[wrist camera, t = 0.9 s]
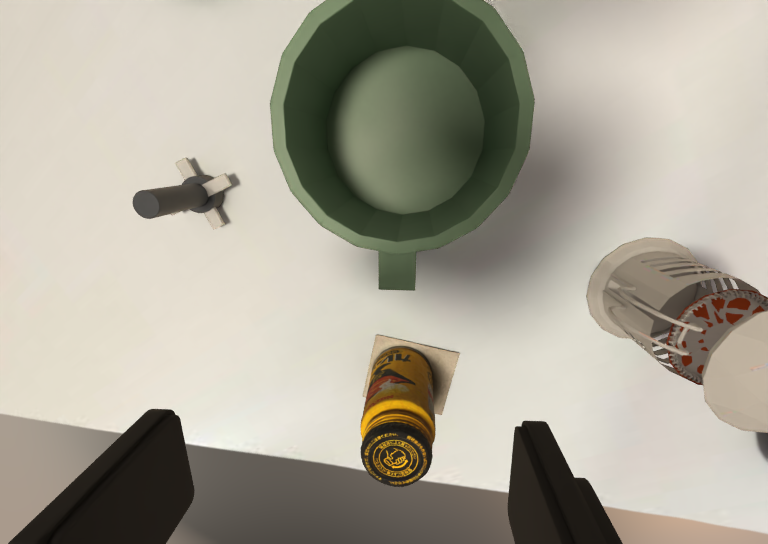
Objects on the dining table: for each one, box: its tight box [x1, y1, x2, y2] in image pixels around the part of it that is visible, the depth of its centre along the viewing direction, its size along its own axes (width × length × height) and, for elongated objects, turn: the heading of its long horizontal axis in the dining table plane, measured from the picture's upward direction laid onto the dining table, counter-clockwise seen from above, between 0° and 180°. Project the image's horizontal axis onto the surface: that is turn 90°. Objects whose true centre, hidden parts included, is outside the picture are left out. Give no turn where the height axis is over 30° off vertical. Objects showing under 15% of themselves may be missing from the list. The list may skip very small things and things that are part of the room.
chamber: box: [270, 0, 535, 290], centre depth 27 cm, size 15×20×12 cm
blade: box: [133, 158, 232, 229], centre depth 31 cm, size 6×6×8 cm
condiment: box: [361, 335, 460, 487], centre depth 34 cm, size 7×8×12 cm
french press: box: [587, 238, 768, 433], centre depth 23 cm, size 10×12×25 cm
